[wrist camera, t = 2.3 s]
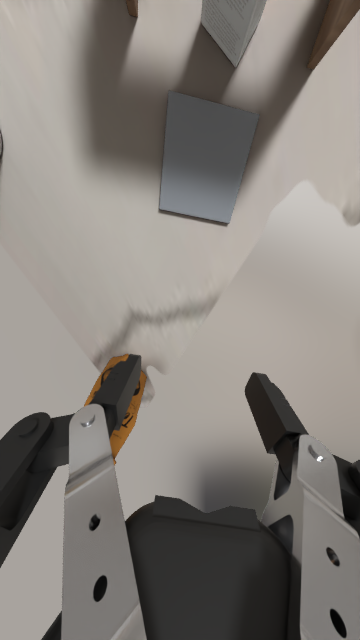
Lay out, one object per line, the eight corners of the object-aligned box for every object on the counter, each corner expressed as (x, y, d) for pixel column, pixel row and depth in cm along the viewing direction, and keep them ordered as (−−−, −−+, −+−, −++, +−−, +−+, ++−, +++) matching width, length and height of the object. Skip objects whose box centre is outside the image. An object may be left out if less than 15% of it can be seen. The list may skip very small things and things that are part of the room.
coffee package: (133, 349, 41) (90, 442, 22) (151, 377, 47) (129, 471, 27) (103, 357, 43) (40, 451, 24) (124, 383, 49) (87, 476, 29)
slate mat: (159, 209, 26) (159, 208, 25) (169, 94, 20) (168, 90, 19) (228, 223, 27) (229, 223, 26) (257, 117, 21) (259, 114, 20)
